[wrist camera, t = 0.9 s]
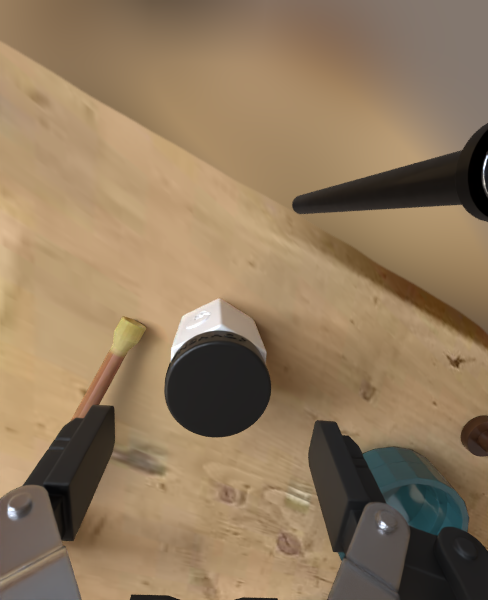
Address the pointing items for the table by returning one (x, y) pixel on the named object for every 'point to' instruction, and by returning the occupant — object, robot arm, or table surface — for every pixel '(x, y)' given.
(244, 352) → the jar
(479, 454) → the brown flanged rod
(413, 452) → the bowl
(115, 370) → the hammer
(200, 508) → the table surface
